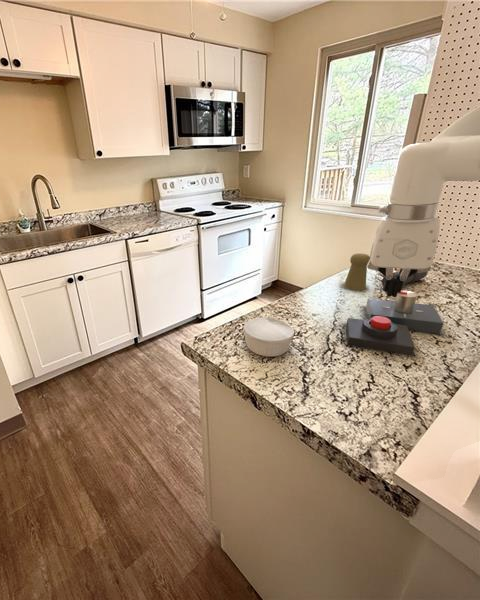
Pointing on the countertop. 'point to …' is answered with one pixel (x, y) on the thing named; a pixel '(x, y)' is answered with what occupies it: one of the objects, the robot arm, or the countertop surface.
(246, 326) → the ramekin
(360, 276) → the cork
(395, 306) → the dial
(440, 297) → the countertop surface
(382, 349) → the switch block
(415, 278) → the flashlight
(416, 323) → the control panel
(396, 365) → the countertop surface
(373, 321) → the power button
